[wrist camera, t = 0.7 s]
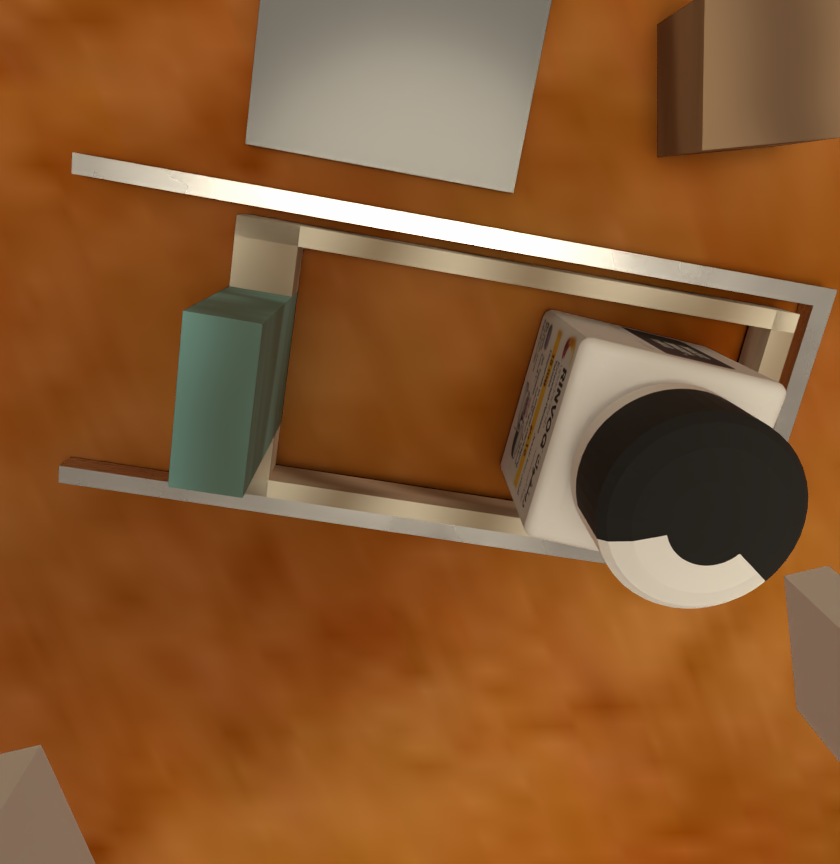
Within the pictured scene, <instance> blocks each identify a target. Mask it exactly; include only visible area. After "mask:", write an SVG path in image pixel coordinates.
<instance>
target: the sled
mask: <svg viewBox="0 0 840 864" xmlns="http://www.w3.org/2000/svg"><path fill="white" fill-rule="evenodd" d="M303 248H309V249H315V250H320V251H326V252H332V253H338V254H343V255H349V256H355V257H360V258H366V259H372V260H378V261H383V262H389V263H395V264H400V265H406V266H412V267H418V268H423V269H429V270H435V271H441V272H446V273H452V274H458V275H463V276H469V277H475V278H481V279H486V280H492V281H498V282H503V283H509V284H515V285H521V286H526V287H532V288H538V289H544V290H549V291H555V292H561V293H566V294H572V295H578V296H584V297H589V298H595V299H601V300H606V301H612V302H618V303H624V304H629V305H635V306H641V307H646V308H652V309H658V310H664V311H669V312H675V313H681V314H687V315H692V316H698V317H704V318H709V319H715V320H721V321H727V322H732V323H738V324H744V325H749V328H748V331H747V335H746V338H745V341H744V345H743V348H742V351H741V355H740V358H739V362H738V363H740V364H742V365H744V366H746V367H748V368H750V369H752V370H754V371H756V372H758V373H760V374H762V375H764V376H766V377H768V378H770V379H773V380H775V381H777V382H779V380H780V376H781V373H782V370H783V367H784V364H785V361H786V357H787V354H788V351H789V348H790V345H791V342H792V338H793V335H794V332H795V329H796V326H797V322H798V319H799V316H800V314H797V313H794V312H790V311H787V310H783V309H780V308H776V307H770V306H765V305H759V304H754V303H748V302H742V301H737V300H731V299H725V298H720V297H714V296H708V295H703V294H697V293H691V292H686V291H680V290H674V289H669V288H663V287H658V286H652V285H646V284H641V283H635V282H629V281H624V280H618V279H612V278H607V277H601V276H595V275H590V274H584V273H578V272H573V271H567V270H562V269H556V268H550V267H545V266H539V265H533V264H528V263H522V262H516V261H511V260H505V259H499V258H494V257H488V256H483V255H477V254H471V253H466V252H460V251H454V250H449V249H443V248H437V247H432V246H426V245H420V244H415V243H409V242H403V241H398V240H392V239H387V238H381V237H375V236H370V235H364V234H358V233H353V232H347V231H341V230H336V229H330V228H324V227H319V226H313V225H307V224H302V223H296V222H291V221H285V220H279V219H274V218H268V217H262V216H257V215H251V214H239V215H237V217H236V227H235V236H234V246H233V256H232V266H231V276H230V285H229V287H227V288H225V289H223V290H221V291H219V292H217V293H216V294H214V295H212V296H210V297H208V298H206V299H204V300H202V301H200V302H199V303H197V304H195V305H193V306H191V307H189V308H187V309H185V310H184V311H183V317H182V329H181V341H180V352H179V364H178V376H177V387H176V399H175V411H174V422H173V434H172V446H171V457H170V469H169V481H168V487H172V488H178V489H185V490H192V491H199V492H205V493H212V494H219V495H225V496H232V497H239V498H243V496H244V494H248V495H255V496H262V497H268V498H275V499H282V500H289V501H295V502H302V503H309V504H315V505H322V506H329V507H335V508H342V509H349V510H355V511H362V512H369V513H375V514H382V515H389V516H395V517H402V518H409V519H416V520H422V521H429V522H436V523H442V524H449V525H456V526H462V527H469V528H476V529H482V530H489V531H496V532H502V533H509V534H516V535H523V536H529V535H528V534H527V533H526V531H525V530H524V527H523V525H522V522H521V519H520V517H519V514H518V511H517V509H516V506H515V504H514V501H509V500H502V499H496V498H489V497H482V496H476V495H469V494H463V493H456V492H450V491H443V490H437V489H430V488H424V487H417V486H411V485H404V484H397V483H391V482H384V481H378V480H371V479H365V478H358V477H352V476H345V475H339V474H332V473H325V472H319V471H312V470H306V469H299V468H293V467H286V466H280V465H276V458H277V450H278V442H279V434H280V426H281V418H282V411H283V403H284V395H285V387H286V379H287V371H288V363H289V356H290V348H291V340H292V332H293V324H294V316H295V308H296V300H297V293H298V285H299V277H300V269H301V261H302V253H303ZM529 537H531V536H529Z"/></svg>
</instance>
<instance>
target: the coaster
mask: <svg viewBox="0 0 840 864" xmlns="http://www.w3.org/2000/svg"><path fill="white" fill-rule="evenodd" d="M551 1H552V0H260V6H259V16H258V26H257V36H256V45H255V55H254V65H253V75H252V84H251V94H250V104H249V114H248V124H247V133H246V143H245V144H247V145H252V146H258V147H263V148H269V149H274V150H279V151H285V152H290V153H296V154H301V155H307V156H312V157H318V158H323V159H328V160H334V161H339V162H345V163H350V164H356V165H361V166H366V167H372V168H377V169H383V170H388V171H394V172H399V173H405V174H410V175H415V176H421V177H426V178H432V179H437V180H443V181H448V182H453V183H459V184H464V185H470V186H475V187H481V188H486V189H492V190H497V191H502V192H508V193H513V192H514V187H515V182H516V177H517V172H518V167H519V162H520V157H521V152H522V147H523V142H524V137H525V132H526V127H527V122H528V117H529V112H530V106H531V101H532V96H533V91H534V86H535V81H536V76H537V71H538V66H539V61H540V56H541V51H542V46H543V41H544V36H545V31H546V26H547V21H548V16H549V11H550V6H551Z"/></svg>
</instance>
